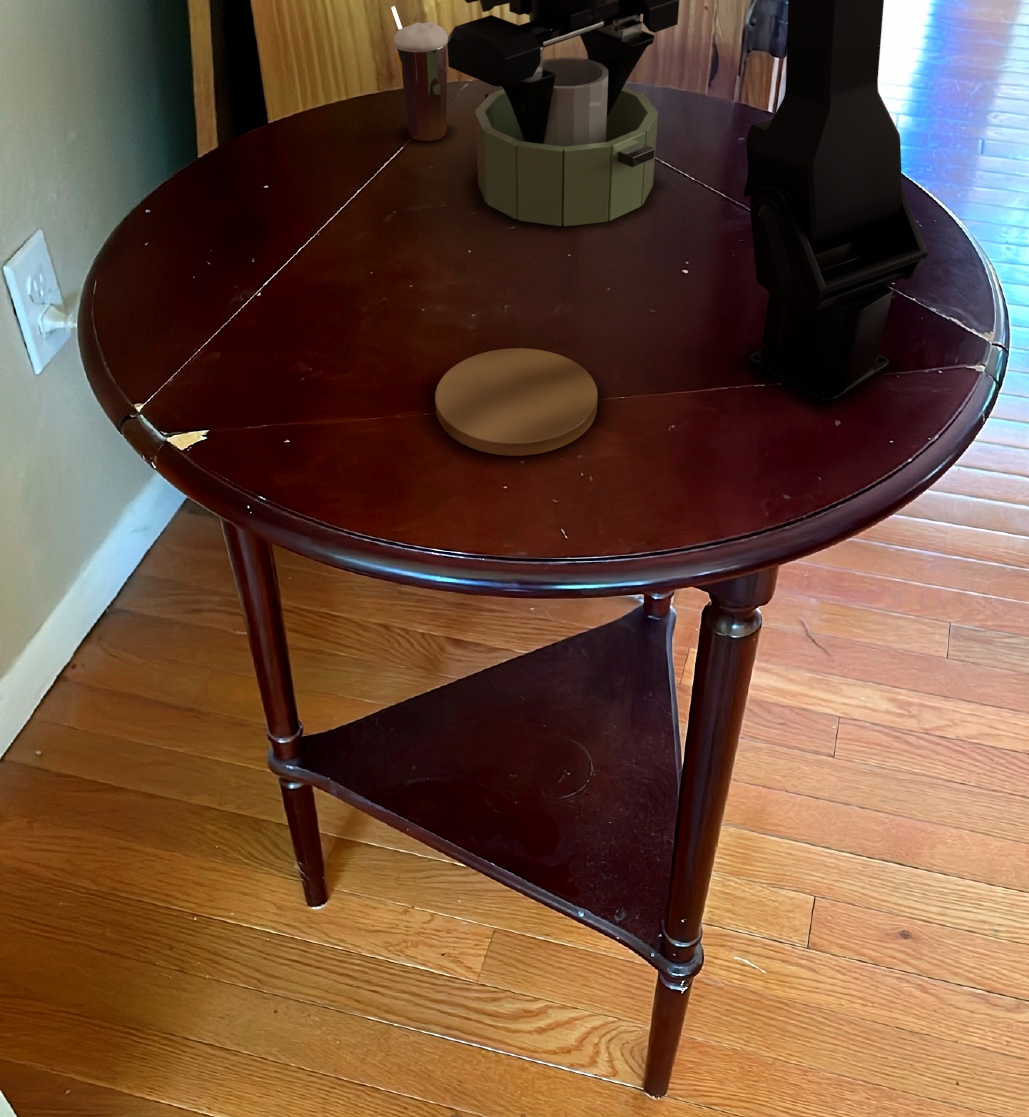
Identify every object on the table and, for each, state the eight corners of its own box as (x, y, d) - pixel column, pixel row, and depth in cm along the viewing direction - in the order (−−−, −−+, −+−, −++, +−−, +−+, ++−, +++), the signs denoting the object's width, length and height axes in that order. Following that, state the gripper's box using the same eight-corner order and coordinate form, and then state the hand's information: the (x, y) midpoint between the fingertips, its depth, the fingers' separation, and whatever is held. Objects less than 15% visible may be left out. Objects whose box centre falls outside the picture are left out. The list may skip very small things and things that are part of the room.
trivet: (630, 408, 69) (631, 395, 69) (509, 479, 65) (508, 465, 64) (522, 342, 75) (522, 330, 74) (403, 403, 70) (402, 390, 69)
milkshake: (420, 116, 102) (411, -1, 95) (464, 132, 99) (458, 12, 92) (384, 133, 99) (373, 13, 92) (428, 149, 97) (419, 27, 90)
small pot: (620, 173, 90) (625, 72, 85) (563, 198, 87) (564, 95, 82) (567, 150, 94) (568, 51, 88) (510, 173, 91) (508, 72, 85)
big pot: (699, 192, 90) (707, 118, 86) (575, 250, 84) (576, 173, 79) (556, 129, 99) (557, 59, 95) (434, 177, 93) (429, 105, 89)
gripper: (584, -126, 87) (580, 80, 98) (391, -77, 78) (410, 143, 89) (692, -99, 81) (674, 117, 91) (495, -42, 72) (502, 189, 83)
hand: (565, 139), depth 89 cm, fingers closed on small pot, 6 cm apart
